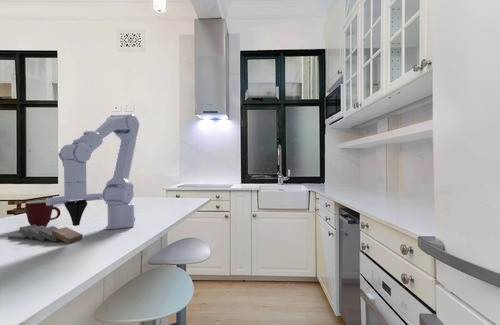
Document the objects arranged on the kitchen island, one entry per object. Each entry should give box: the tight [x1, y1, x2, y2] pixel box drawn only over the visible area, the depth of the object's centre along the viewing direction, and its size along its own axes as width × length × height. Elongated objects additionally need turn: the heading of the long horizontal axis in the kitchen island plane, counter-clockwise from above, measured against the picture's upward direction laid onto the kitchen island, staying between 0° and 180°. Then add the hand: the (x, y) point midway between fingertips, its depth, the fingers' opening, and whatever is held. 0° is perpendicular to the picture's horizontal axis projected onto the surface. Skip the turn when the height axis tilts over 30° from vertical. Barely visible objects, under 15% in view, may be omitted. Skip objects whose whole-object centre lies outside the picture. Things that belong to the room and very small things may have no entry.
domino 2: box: [18, 224, 38, 240], centre depth 83 cm, size 2×4×7 cm
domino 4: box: [38, 225, 63, 244], centre depth 80 cm, size 2×4×7 cm
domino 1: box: [7, 232, 30, 241], centre depth 83 cm, size 2×4×7 cm
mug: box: [24, 199, 61, 227], centre depth 96 cm, size 10×8×10 cm
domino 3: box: [27, 225, 50, 243], centre depth 81 cm, size 2×4×7 cm
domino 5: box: [52, 226, 83, 245], centre depth 79 cm, size 2×4×7 cm
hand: (76, 225), depth 78 cm, fingers closed
